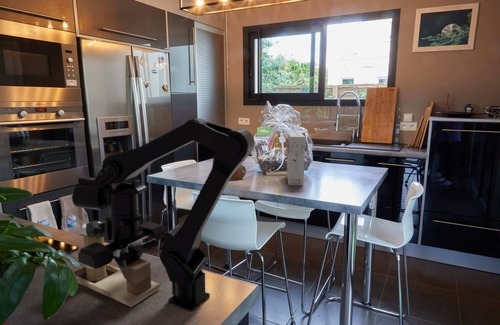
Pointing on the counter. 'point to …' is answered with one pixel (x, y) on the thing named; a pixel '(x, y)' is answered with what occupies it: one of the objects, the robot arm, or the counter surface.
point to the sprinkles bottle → (92, 273)
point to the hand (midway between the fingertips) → (127, 278)
